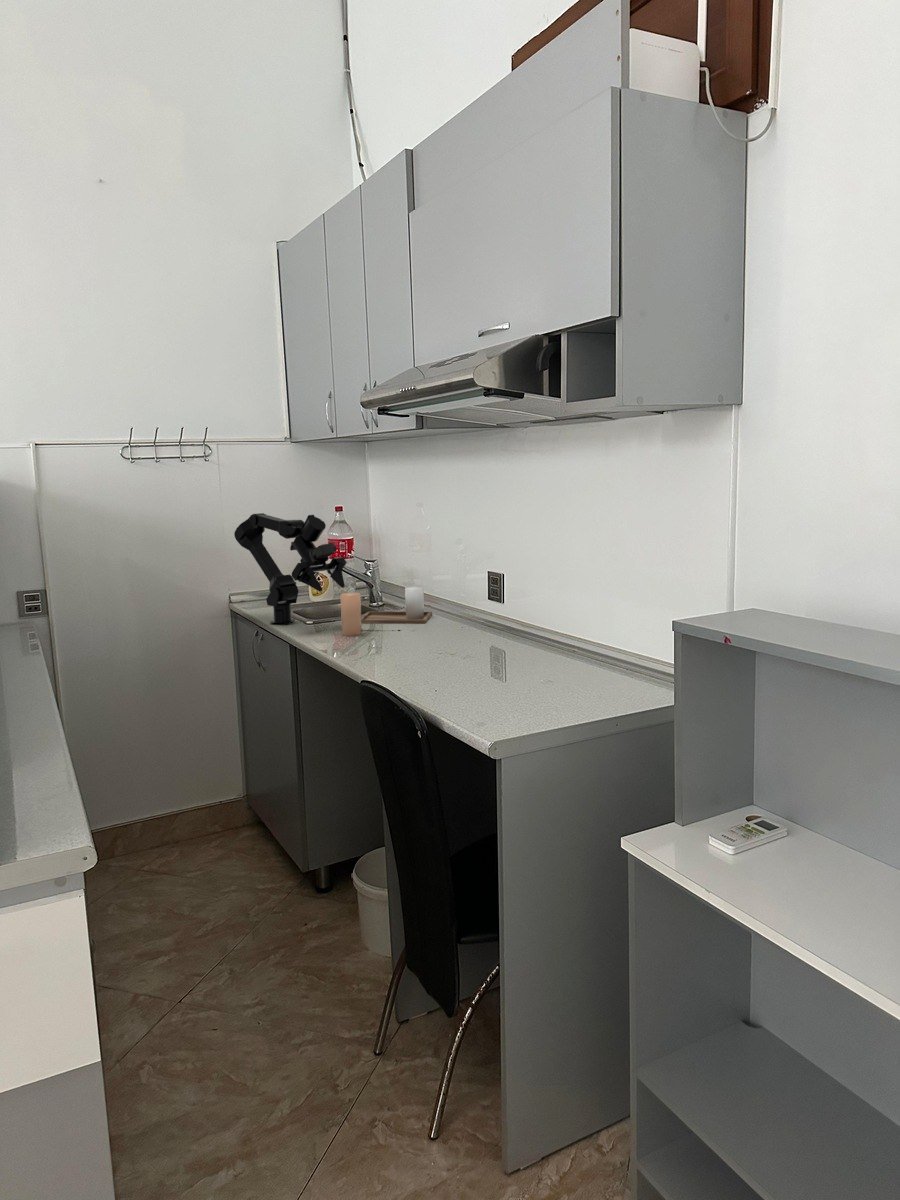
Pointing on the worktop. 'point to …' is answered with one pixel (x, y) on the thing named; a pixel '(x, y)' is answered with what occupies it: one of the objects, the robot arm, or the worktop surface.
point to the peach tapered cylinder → (351, 614)
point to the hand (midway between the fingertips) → (332, 588)
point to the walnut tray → (392, 618)
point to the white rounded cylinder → (414, 602)
